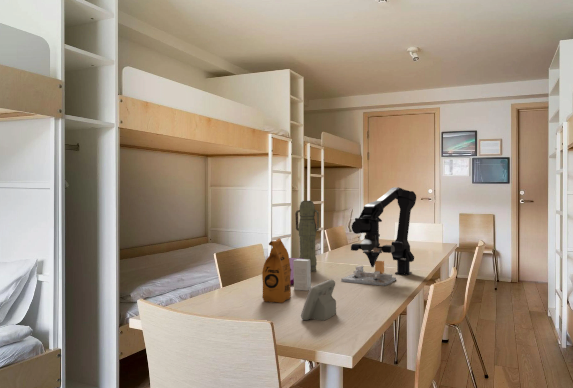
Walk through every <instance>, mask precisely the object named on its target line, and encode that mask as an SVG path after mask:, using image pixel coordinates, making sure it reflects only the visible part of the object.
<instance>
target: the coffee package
mask: <svg viewBox="0 0 573 388" xmlns="http://www.w3.org/2000/svg"><path fill="white" fill-rule="evenodd" d="M268 245H269V246H271V249H270V253H269V256H268V257H267V258H266V260H265V262H264V264H263V266H262V267H263V268H262V272H261V276H262V300H263V302H265V303H267V302H269V303H278V304H279V303H280V304H284V303H285V301H286V300H287V301H288V300H290V298H291V296H292V292H291V290H292V289H291V287H292V286H291V285H292V284H291V285H290V275H291V270H290V260H289V258H290V256H289V255H290V254H289V252H288V249H287V248H286V246H285V245H284V243H283V241H282V239H281V238H277V239H276V240H271V241H270V242H268Z"/></svg>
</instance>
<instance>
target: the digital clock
mask: <svg viewBox="0 0 573 388" xmlns="http://www.w3.org/2000/svg"><path fill="white" fill-rule="evenodd" d="M335 287H336V281H335V280H334V279H328V280H324V281H322V282H320V283H317V284H315V285H313V286H311V288H310V289H309V290H308V293H307V296H306V298H305V301H304V305H303V308H302V310H301V315H300V318H301V319H302V321H308V320H310V319H311V320H316V321H323V322H325V321H326V320H328V319H330V318H331V317H333V316H335V315H336V314H337V301H336V299H335V298H334V296H333V292H334V290H335Z"/></svg>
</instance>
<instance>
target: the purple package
mask: <svg viewBox="0 0 573 388" xmlns="http://www.w3.org/2000/svg"><path fill="white" fill-rule="evenodd" d="M296 259H304V258H299V257H289V260H290V270H291V275H290V285H294V263H293V261H294V260H296Z"/></svg>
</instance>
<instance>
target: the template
mask: <svg viewBox="0 0 573 388" xmlns="http://www.w3.org/2000/svg"><path fill="white" fill-rule="evenodd" d="M374 272H375V271H364V266H363V265H356V266H355V270H353V274H350V275H347V276H345V277H342V278H341V279H340V280H341V281H340V282H343V283H351V284H352V283H353V284H360V285H361V284H364V285H373V286H380V285H382V287H387V286H388V285H391V284H392V283H394V282H395V280H396V281H397V277H395V276H393V273H385V272H384V273H380V274H377V279H375V274H374ZM393 281H394V282H393Z"/></svg>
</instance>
